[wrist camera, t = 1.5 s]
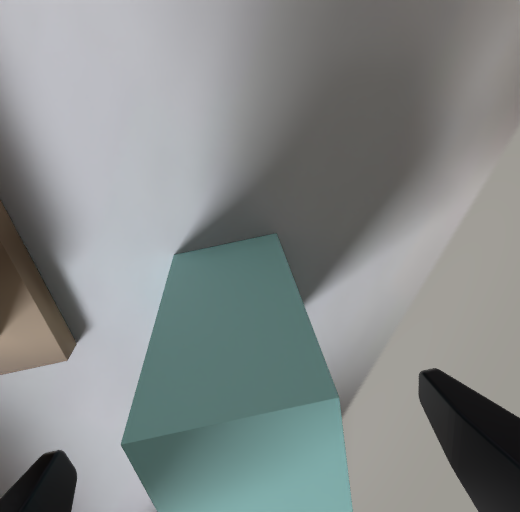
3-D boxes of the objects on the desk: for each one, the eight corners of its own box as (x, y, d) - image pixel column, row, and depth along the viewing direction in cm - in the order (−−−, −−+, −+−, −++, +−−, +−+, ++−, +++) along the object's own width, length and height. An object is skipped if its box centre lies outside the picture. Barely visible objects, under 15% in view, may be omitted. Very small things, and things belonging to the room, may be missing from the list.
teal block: (291, 317, 15) (353, 520, 8) (200, 336, 15) (182, 558, 8) (276, 233, 14) (339, 397, 6) (174, 254, 14) (120, 444, 6)
